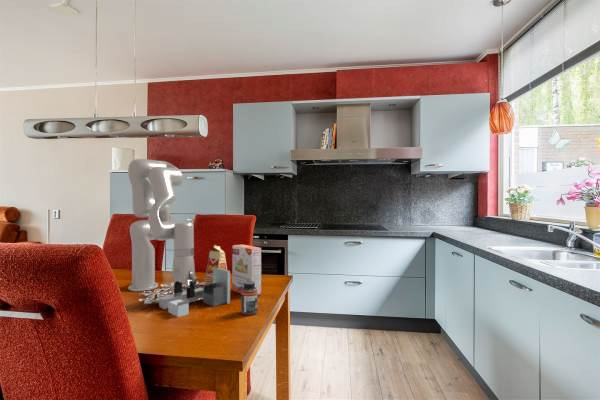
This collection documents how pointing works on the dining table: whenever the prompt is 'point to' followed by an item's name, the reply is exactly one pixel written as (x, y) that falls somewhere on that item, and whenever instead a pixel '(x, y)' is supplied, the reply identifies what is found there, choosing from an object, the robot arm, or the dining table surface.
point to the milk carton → (215, 263)
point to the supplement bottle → (249, 298)
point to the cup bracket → (217, 288)
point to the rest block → (178, 307)
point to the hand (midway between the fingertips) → (184, 295)
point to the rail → (180, 297)
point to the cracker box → (246, 266)
